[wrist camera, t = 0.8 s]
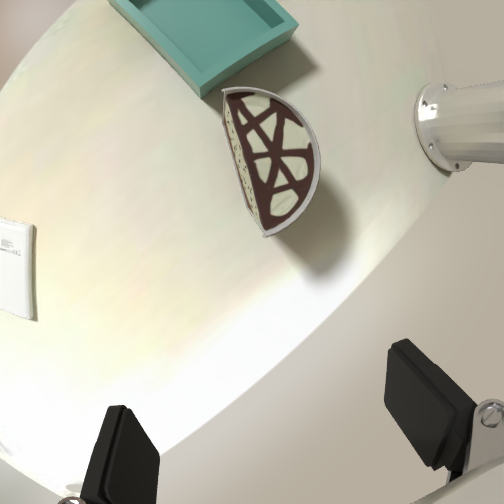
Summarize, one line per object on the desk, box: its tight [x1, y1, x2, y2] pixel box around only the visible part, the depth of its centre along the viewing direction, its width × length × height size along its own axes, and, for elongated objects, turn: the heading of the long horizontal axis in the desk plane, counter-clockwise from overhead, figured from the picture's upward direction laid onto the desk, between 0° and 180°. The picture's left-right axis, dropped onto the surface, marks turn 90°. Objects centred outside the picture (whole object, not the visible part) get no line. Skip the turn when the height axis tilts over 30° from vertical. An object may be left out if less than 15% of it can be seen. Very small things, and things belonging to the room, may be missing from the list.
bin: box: [108, 0, 299, 99], centre depth 23 cm, size 12×18×4 cm, turn 39°
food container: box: [222, 87, 321, 238], centre depth 26 cm, size 12×6×10 cm, turn 16°
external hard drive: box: [0, 217, 34, 320], centre depth 29 cm, size 2×8×12 cm
